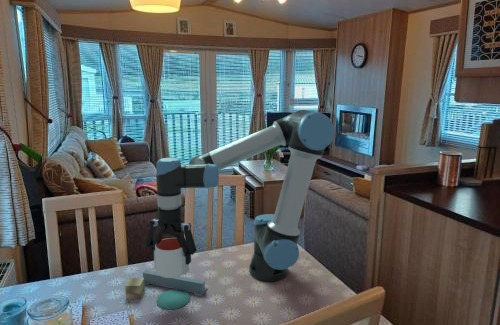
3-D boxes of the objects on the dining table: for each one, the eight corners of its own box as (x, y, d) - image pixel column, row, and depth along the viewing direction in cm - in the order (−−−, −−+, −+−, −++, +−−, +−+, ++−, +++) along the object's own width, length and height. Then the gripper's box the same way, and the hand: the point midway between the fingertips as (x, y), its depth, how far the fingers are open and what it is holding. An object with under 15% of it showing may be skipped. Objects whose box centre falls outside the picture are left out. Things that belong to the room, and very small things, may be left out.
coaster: (195, 293, 121) (195, 292, 121) (179, 312, 111) (179, 311, 110) (167, 288, 124) (167, 287, 124) (150, 305, 114) (150, 304, 114)
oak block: (144, 290, 123) (144, 277, 122) (140, 299, 118) (140, 285, 117) (130, 291, 122) (129, 278, 121) (126, 299, 117) (125, 285, 116)
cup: (179, 281, 109) (179, 252, 107) (150, 277, 111) (149, 248, 109) (191, 266, 119) (190, 239, 117) (164, 263, 121) (163, 236, 119)
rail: (207, 289, 124) (207, 278, 123) (201, 296, 119) (200, 286, 118) (148, 277, 131) (147, 268, 130) (140, 284, 126) (139, 274, 125)
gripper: (206, 206, 111) (207, 269, 115) (146, 199, 117) (148, 259, 122) (196, 214, 104) (197, 281, 108) (132, 205, 110) (135, 269, 115)
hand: (171, 269), depth 115 cm, fingers closed on cup, 10 cm apart
